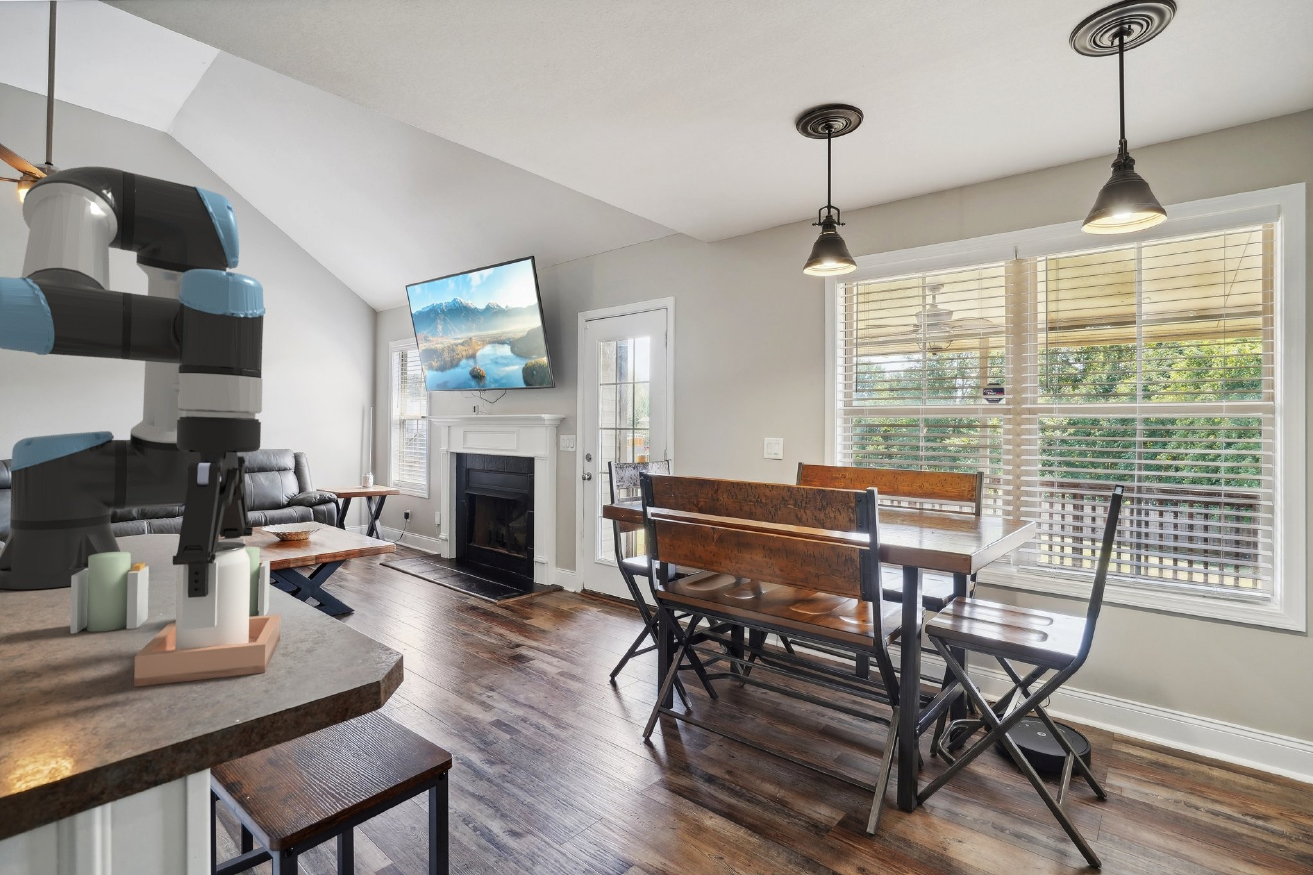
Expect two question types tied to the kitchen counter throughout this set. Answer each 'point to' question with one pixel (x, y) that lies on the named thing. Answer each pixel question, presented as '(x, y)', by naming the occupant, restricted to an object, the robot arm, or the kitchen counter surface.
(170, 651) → the tray
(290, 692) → the kitchen counter surface
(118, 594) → the peg
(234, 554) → the can
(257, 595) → the green piece
